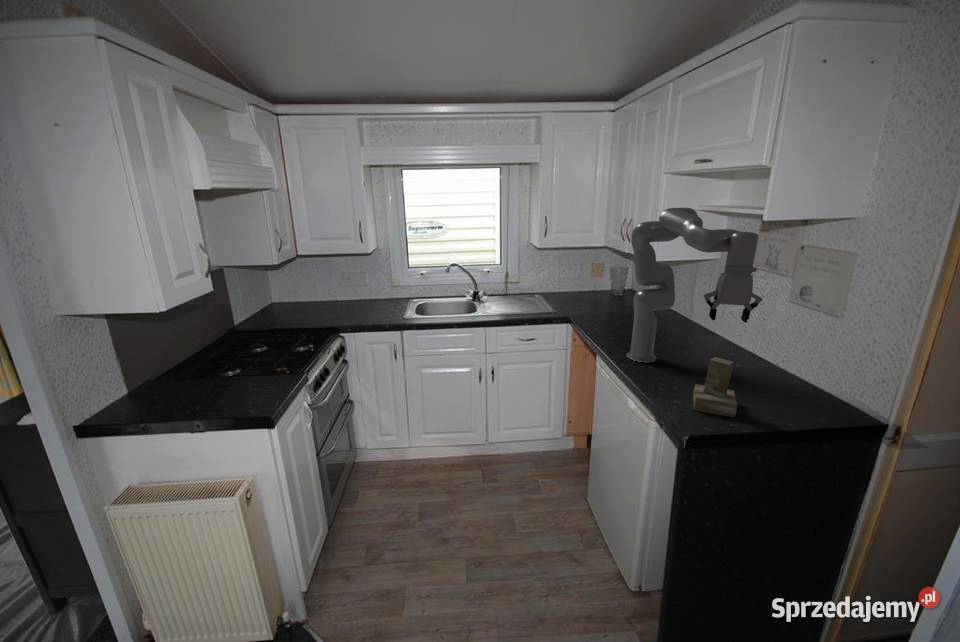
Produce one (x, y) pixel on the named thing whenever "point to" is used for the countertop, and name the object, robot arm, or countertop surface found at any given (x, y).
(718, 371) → the skincare box
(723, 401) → the birch block
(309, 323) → the countertop surface
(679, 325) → the countertop surface
